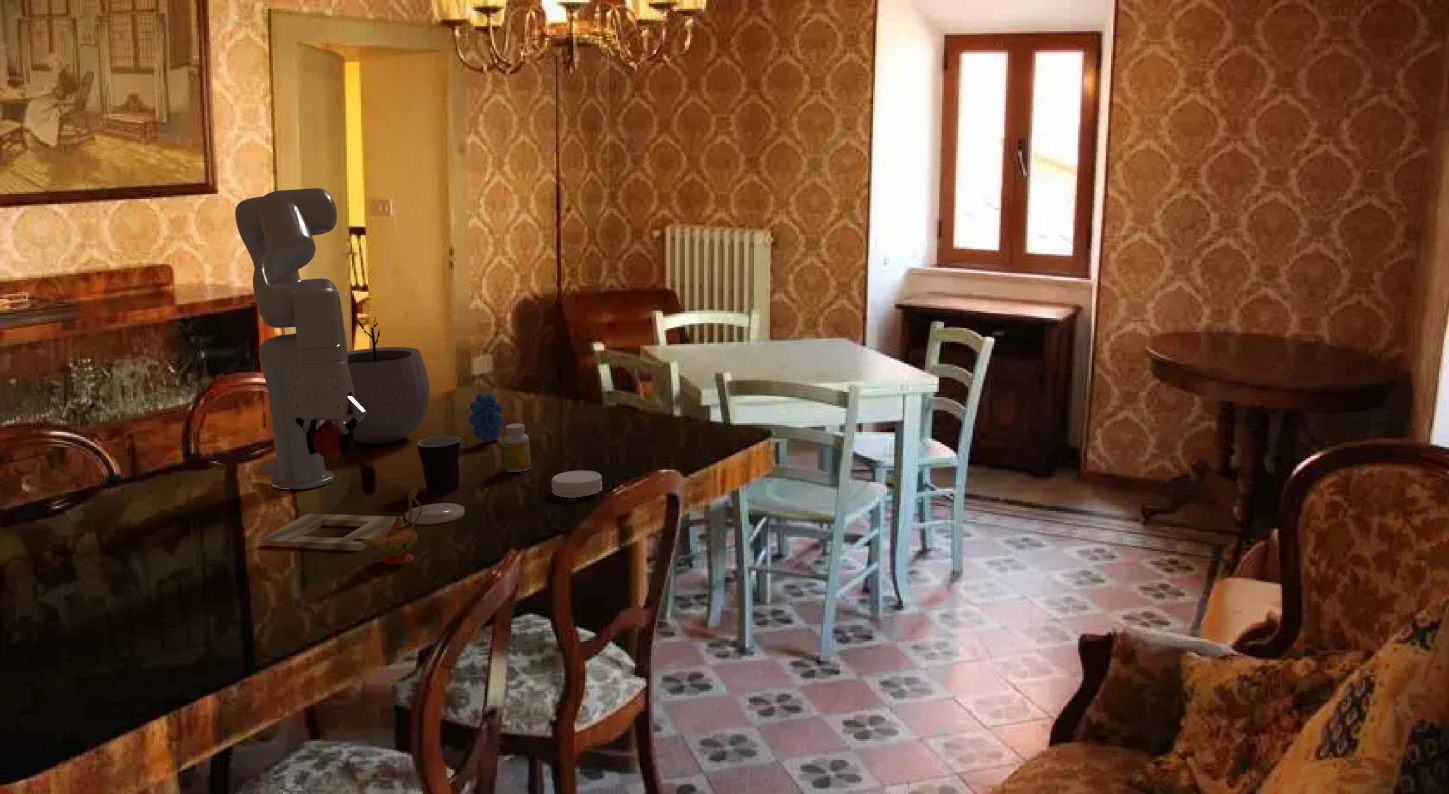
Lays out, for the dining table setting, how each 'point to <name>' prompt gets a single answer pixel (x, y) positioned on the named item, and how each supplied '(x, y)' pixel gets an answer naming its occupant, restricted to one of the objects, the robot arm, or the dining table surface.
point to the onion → (328, 440)
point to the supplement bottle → (516, 449)
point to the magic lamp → (396, 538)
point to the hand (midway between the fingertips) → (331, 452)
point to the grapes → (486, 417)
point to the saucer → (436, 513)
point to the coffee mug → (440, 463)
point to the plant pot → (388, 391)
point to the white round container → (576, 484)
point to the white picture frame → (311, 522)
